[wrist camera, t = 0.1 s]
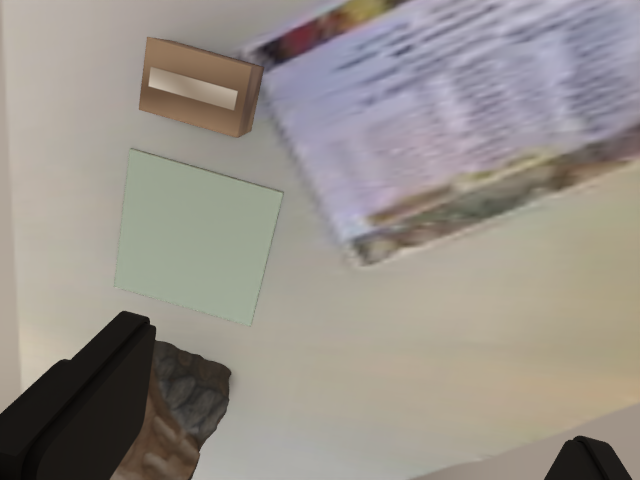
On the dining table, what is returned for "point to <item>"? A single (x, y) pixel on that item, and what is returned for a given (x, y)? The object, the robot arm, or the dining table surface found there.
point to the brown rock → (176, 415)
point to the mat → (194, 237)
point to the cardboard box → (199, 87)
